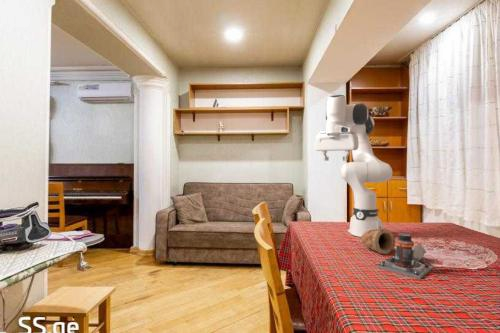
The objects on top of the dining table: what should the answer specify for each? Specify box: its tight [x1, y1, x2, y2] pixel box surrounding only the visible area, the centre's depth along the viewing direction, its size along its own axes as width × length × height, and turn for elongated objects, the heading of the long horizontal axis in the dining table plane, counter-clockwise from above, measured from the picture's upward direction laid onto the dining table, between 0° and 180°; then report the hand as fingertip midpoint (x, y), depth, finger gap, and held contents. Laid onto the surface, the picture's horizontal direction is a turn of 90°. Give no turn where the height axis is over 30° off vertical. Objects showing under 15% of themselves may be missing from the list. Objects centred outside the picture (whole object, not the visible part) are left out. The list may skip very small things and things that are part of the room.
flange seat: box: [376, 245, 433, 280], centre depth 109 cm, size 24×14×5 cm, turn 134°
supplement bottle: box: [394, 232, 415, 268], centre depth 106 cm, size 6×6×11 cm
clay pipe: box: [360, 228, 396, 255], centre depth 129 cm, size 19×11×15 cm
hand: (335, 160), depth 132 cm, fingers open, 8 cm apart
